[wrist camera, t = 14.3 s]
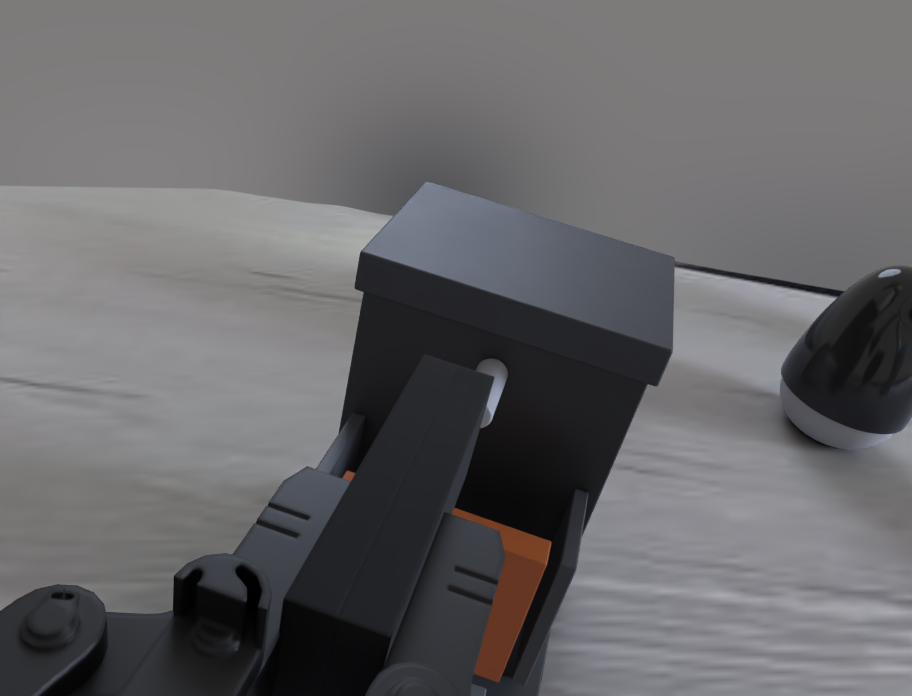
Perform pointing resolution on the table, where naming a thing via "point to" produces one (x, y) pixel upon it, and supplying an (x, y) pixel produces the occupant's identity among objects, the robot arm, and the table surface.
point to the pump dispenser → (855, 365)
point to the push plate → (507, 592)
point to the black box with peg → (513, 367)
